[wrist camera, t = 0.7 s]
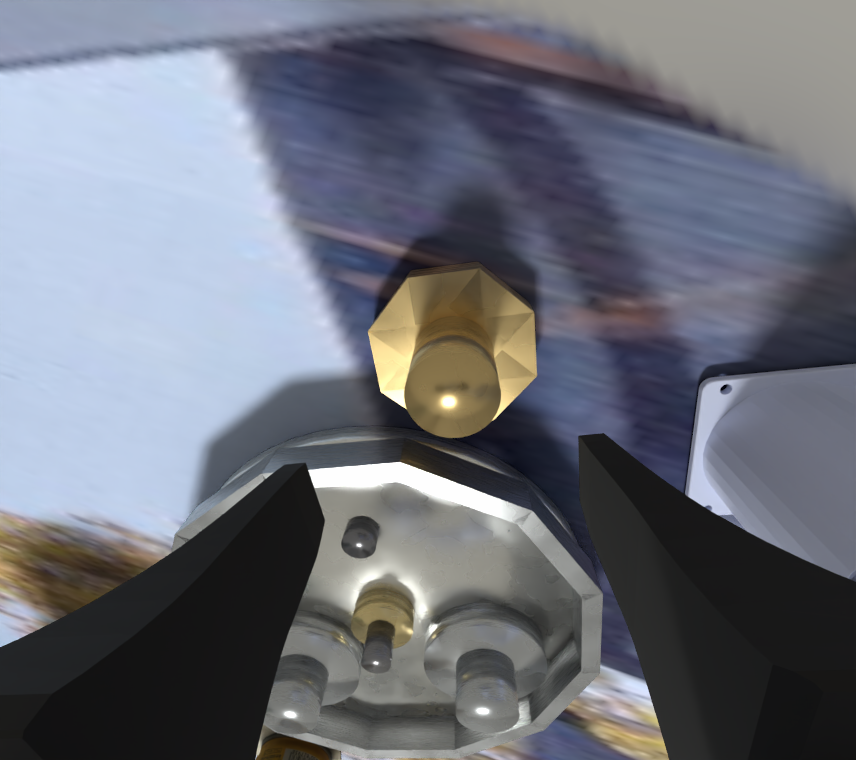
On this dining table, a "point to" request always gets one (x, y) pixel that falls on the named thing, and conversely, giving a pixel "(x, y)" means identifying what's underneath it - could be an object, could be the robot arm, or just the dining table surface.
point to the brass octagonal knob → (454, 347)
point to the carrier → (425, 598)
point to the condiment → (291, 748)
